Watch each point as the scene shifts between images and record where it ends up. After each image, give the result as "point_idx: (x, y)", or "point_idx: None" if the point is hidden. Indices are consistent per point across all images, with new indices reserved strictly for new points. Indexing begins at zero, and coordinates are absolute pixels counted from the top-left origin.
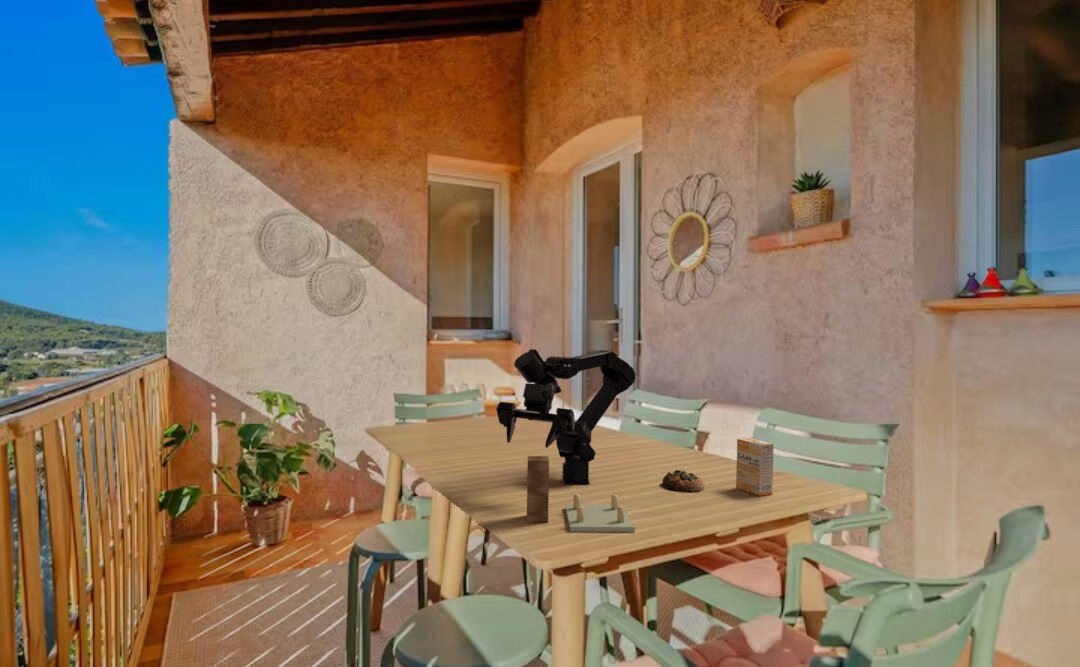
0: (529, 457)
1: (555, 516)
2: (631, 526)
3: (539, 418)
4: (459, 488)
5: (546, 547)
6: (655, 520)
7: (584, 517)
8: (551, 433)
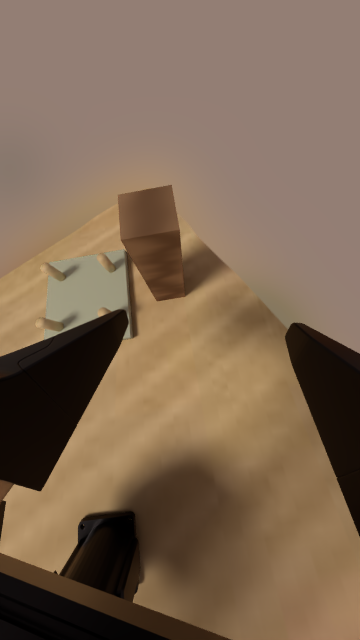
0: (171, 214)
1: (145, 301)
2: (52, 263)
3: (99, 605)
4: None
5: None
6: (18, 310)
7: (105, 283)
8: (69, 333)
